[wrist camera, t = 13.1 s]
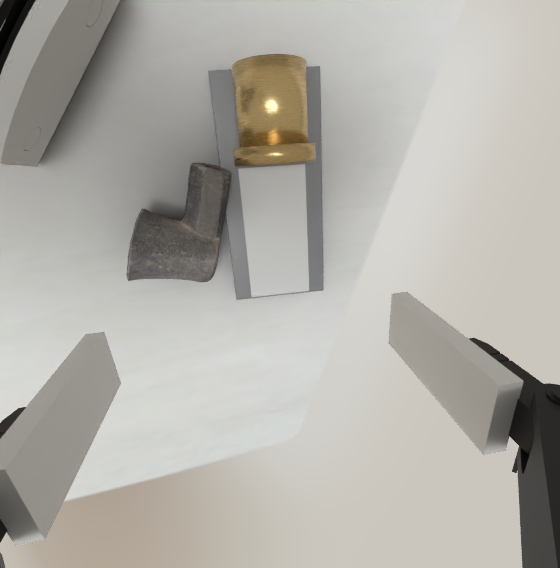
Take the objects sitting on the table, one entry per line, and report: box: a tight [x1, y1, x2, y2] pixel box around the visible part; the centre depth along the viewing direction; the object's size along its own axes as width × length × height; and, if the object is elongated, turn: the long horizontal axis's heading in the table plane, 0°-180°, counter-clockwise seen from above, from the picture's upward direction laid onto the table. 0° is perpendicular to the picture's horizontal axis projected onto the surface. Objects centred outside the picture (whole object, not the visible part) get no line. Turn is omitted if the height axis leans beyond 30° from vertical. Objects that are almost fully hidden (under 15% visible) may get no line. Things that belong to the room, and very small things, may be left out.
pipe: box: [127, 163, 231, 282], centre depth 31 cm, size 6×13×8 cm
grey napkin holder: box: [0, 0, 120, 166], centre depth 23 cm, size 17×5×10 cm, turn 143°
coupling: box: [232, 54, 316, 166], centre depth 27 cm, size 7×7×7 cm
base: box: [208, 66, 323, 300], centre depth 33 cm, size 22×10×1 cm, turn 4°
